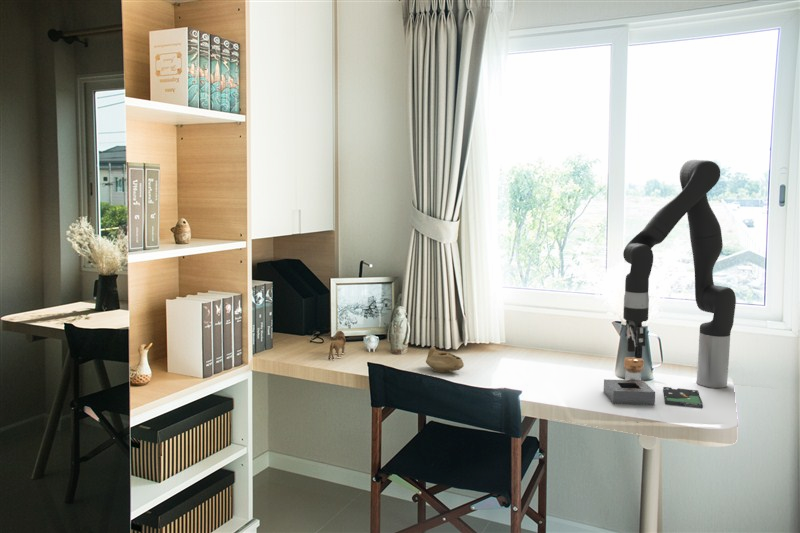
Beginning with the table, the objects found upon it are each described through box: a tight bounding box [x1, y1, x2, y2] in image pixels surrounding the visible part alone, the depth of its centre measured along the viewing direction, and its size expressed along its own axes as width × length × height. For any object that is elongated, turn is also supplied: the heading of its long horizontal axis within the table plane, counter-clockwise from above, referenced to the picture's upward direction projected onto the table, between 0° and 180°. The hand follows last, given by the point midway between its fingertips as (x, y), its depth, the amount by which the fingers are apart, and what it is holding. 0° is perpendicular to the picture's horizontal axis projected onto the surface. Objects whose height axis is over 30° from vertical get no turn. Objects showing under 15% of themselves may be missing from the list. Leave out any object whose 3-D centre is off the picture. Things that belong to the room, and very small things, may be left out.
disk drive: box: [662, 386, 703, 409], centre depth 197 cm, size 10×3×15 cm
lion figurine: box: [328, 330, 347, 360], centre depth 250 cm, size 15×5×9 cm, turn 176°
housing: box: [603, 379, 656, 406], centre depth 197 cm, size 12×12×5 cm
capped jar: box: [623, 356, 645, 380], centre depth 209 cm, size 6×6×10 cm
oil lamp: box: [425, 346, 465, 373], centre depth 230 cm, size 11×15×8 cm
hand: (634, 354), depth 209 cm, fingers open, 8 cm apart
